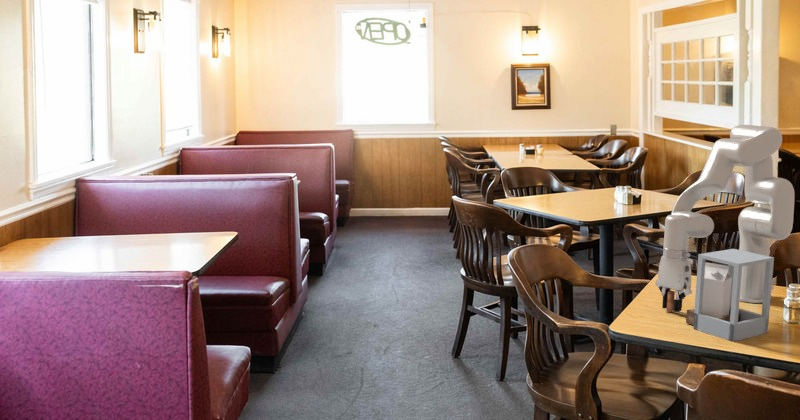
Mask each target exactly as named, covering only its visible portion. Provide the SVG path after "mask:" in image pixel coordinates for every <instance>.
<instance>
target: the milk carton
mask: <svg viewBox="0 0 800 420" xmlns="http://www.w3.org/2000/svg"><path fill="white" fill-rule="evenodd" d="M731 282H732V276H731V273H730V271H729V265H727V264H721V263H711V262H706V261H705V275H704V289H703V304H702V314H705V315H708V316H711V317H714V318H717V317H722V316H726V315H729V309H730V295H731Z"/></svg>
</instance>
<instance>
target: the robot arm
mask: <svg viewBox="0 0 800 420" xmlns="http://www.w3.org/2000/svg"><path fill="white" fill-rule="evenodd" d="M729 133H730V134H729V138H720V139H717V140H716V141H715V143H713V145H712V147H711V150H710V152H709V154H708V157H707V158H706V162H705V164H704V167H703V169H702V171H701V173H700V176H699V178H698V179H697V180H696V181H694V183H692V184H691V185H690V186H688V187H687V188H686V189H685V190H684V191H682V193H681V194H680V195H679V196H678V197H677V199H676V201H675V204H674V206H673V208H672V211H671V213H670V214H668V215H667V216H666V217H665V220H664V232H663V233H664V234H663V235H664V237H663V247H662V248H663V251H662V256H661V258H660V261H659V266H658V272H657V280H656V281H655V286H656V287H657V288H658V290H659V291H660V295H661V296H662V309H667V294H668V291H675V298H674V307H673V311H674V312H673V313H676V312H677V311H680V312H682V308H683V300H684V299H685V298H686V297H687V296H689V295H692V293H693V291H692V289H691V288H692V265H691V260H690V256H691V253H689V245H690V244H689V243H690V238H697V239H699V238H701V239H702V238H706V237H709V236H710V235H711V234H712V233H713V232H714V229H715V223H714V220H713V219H712V217H710V216H709V215H707V214H702V213H699V212H695V211H694V212H693V211H692V209H694V206H695V205H696V204H697V203H699V201H701V200H702V199H704V198H707V197H710V196H712V195H715V194H718V193H720V192H722V191H724V190H725V189H726V188H727V185H728V182H729V180H730V177H731V174H732V173H733V170H734V169H735V167H744V169H745V171H744V172H745V173H744V198H745V200H747V201H748V202H750V203H753V204H759V205H762V206H763V205H764V206H767V207H768V206H770V208H767V207H762V206H761V207H760V206H747V207H745V208H743V209H742V210H741V211H740V213H739V215H738V219H737V220H738V221H737V223H738V233H739V248H738V250H742V251H746V252H751V253H755V254H760V255H765V256H769V257H770V255H771V254H770V253H771V252H770V251H771V250H770V249H771V248H770V244H769V240H768V239H771V240H776V241H778V240H779V241H780V240H781V241H782V240H785V239H787V238H788V237H789V236H790V234H792V233H791V232H792V230H793V224H794V211H795V189H794V186H793V184H792V183H791V182H790V181H789V180H788V179H787V178H783V177H776V176H774V162H773V161H774V160H773V156H772V155H774V154H775V153H777V151H778V150H779V149H780V147H781V146H782V143H783V135H782V132H781V131H780V130H779V129H778V128H776V127H773V126H765V125H764V126H763V125H754V124H753V125H752V124H738V125H736V126H733V128H731V130H730V132H729ZM765 267H766V262H765V263H759V264H754V265H748V266H743V267H742V275H741V287H740V300H739V302H744V303H745V302H746V303H750V304H751V303H752V304H754V303H755V304H762V303H763V291H764V279H765ZM774 289H775V287H774V285H773V284H772V288H771V291H773V290H774Z"/></svg>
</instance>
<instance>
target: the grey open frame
mask: <svg viewBox="0 0 800 420" xmlns="http://www.w3.org/2000/svg"><path fill="white" fill-rule="evenodd" d="M697 256H698V257H697V269H696V284H695V285H696V286H695V298H694V309H695V311H694V325H692V326H693V327H692V328H693V330H695V329H696V331H699V332H702V333H706V334H709V335H711V336H715V337H718V338H720V339H724V340H726V341H730V342H739V341H741V340H745V339H749V338H753V337H757V336H761V335H765V334H768V333H769V322H770V312H771V311H770V310H771V300H772V299H771V298H772V290H771V288H772V285H773V275H774V261H775V257H774V256H770V255H769V256H765V255H760V254H755V253H751V252H746V251H742V250H739V249H737V248H729V249H724V250H718V251H717V250H716V251H710V252H704V253H698V255H697ZM706 261H711V262H715V263H718V264H722V265H726V266H729V271H730V273H731V276H732V282H731V295H730V309H729V310H731V314H730V322H728V321H724V320H721V319H718V318H714V317H711V316H708V315H705V314H702V304H703V289H704V275H705V262H706ZM765 262H766V267H765V279H764V291H763V303H761V314H760V313H758V312H754V311H750V310H746V309H743V308H740V301H739V300H740V287H741V275H742V267H743V266H748V265H754V264H759V263H765ZM738 313H741V317H740V322H738Z"/></svg>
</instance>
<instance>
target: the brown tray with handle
mask: <svg viewBox="0 0 800 420" xmlns="http://www.w3.org/2000/svg"><path fill="white" fill-rule="evenodd" d="M675 298H676V296H675V290H671V291H668V294H667V308H665V309H666V312H667V313H668V312H669V313H676V314H680V315H682V316H686V318H685V321H686V322H685V323H686V324H689V325H691V326H694V311H695V308H691V309H687V310H686V312H682V311H677V312H674V311H673V307H674V300H675ZM730 314H731V310H729V315H726V316H722V317H717V318H718V319H721V320H724V321H728V322H730ZM740 317H741V313H738V322H740Z"/></svg>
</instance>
